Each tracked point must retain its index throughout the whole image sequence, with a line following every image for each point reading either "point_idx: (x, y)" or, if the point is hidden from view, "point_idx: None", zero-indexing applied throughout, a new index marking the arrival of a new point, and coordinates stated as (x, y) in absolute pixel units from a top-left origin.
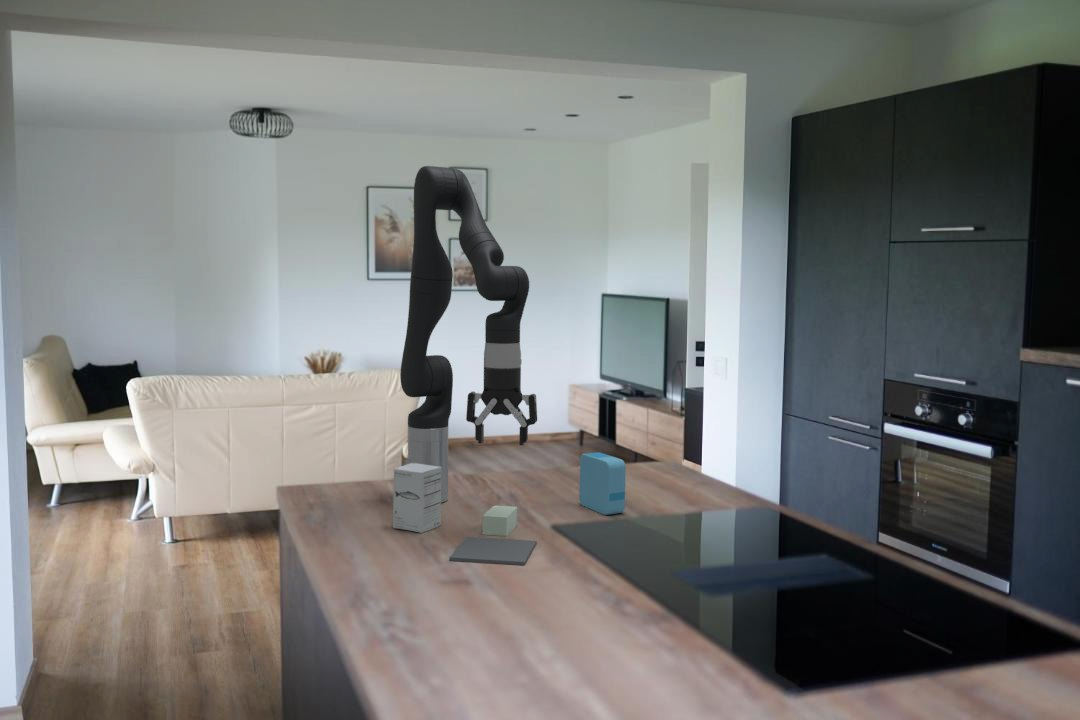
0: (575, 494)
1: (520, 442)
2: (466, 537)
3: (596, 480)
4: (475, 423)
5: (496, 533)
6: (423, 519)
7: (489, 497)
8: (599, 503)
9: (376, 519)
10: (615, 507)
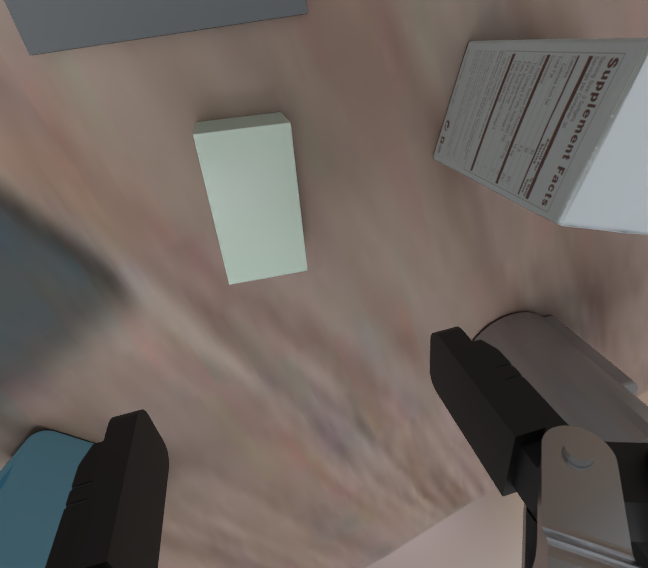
0: (217, 512)
1: (126, 423)
2: (303, 1)
3: None
4: (590, 436)
5: (232, 118)
6: (489, 50)
7: (383, 419)
8: (70, 459)
9: None
10: (12, 457)
